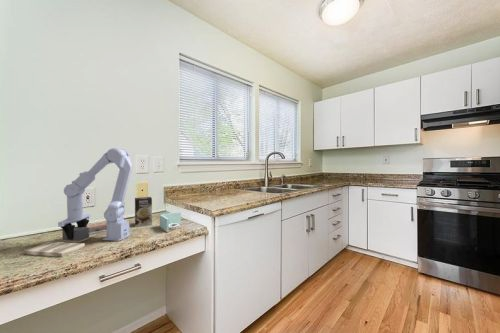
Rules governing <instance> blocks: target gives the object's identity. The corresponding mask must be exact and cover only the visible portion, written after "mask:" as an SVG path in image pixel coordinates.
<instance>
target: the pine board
mask: <svg viewBox="0 0 500 333" xmlns="http://www.w3.org/2000/svg"><path fill="white" fill-rule="evenodd" d="M85 247H86V246H85V243H82V242H80V243H78V242H63V241H52V240H51V241H47V242H44V243H42V244H39V245H36V246H33V247H31V248H28V249H24V250H23V253H24V255H32V256H44V257H45V256H47V257H57V258H58V257H59V258H63V257H65V256H68V255H70V254H72V253H74V252H77V251H78V250H81V249H83V248H85Z"/></svg>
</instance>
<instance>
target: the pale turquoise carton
mask: <svg viewBox="0 0 500 333" xmlns="http://www.w3.org/2000/svg"><path fill="white" fill-rule="evenodd" d="M181 223H182V212H181V211H175V212H167V213H162V214H159V227H160V228H161V229H162V230H163V231H165V232H166V233H169V230H176V229H178V228H180V227H181V225H180V224H181Z"/></svg>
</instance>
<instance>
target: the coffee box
mask: <svg viewBox="0 0 500 333" xmlns="http://www.w3.org/2000/svg"><path fill="white" fill-rule="evenodd" d="M152 225H153V197H151V196H144V197H141V196H140V197H135V198H134V228H135V227H137V228H138V227H144V226H145V227H146V226H152Z"/></svg>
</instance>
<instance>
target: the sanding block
mask: <svg viewBox="0 0 500 333" xmlns="http://www.w3.org/2000/svg"><path fill="white" fill-rule="evenodd" d="M61 231H62V232H61V233H62V242H68V243H82V242H85V241H86V240H89V239H90V235H89V227H78V226H75V227H74V231H73V239H72V240H69V239H68V238H67V236H66V233H65V232H64V230H63V229H62V230H61Z"/></svg>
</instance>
